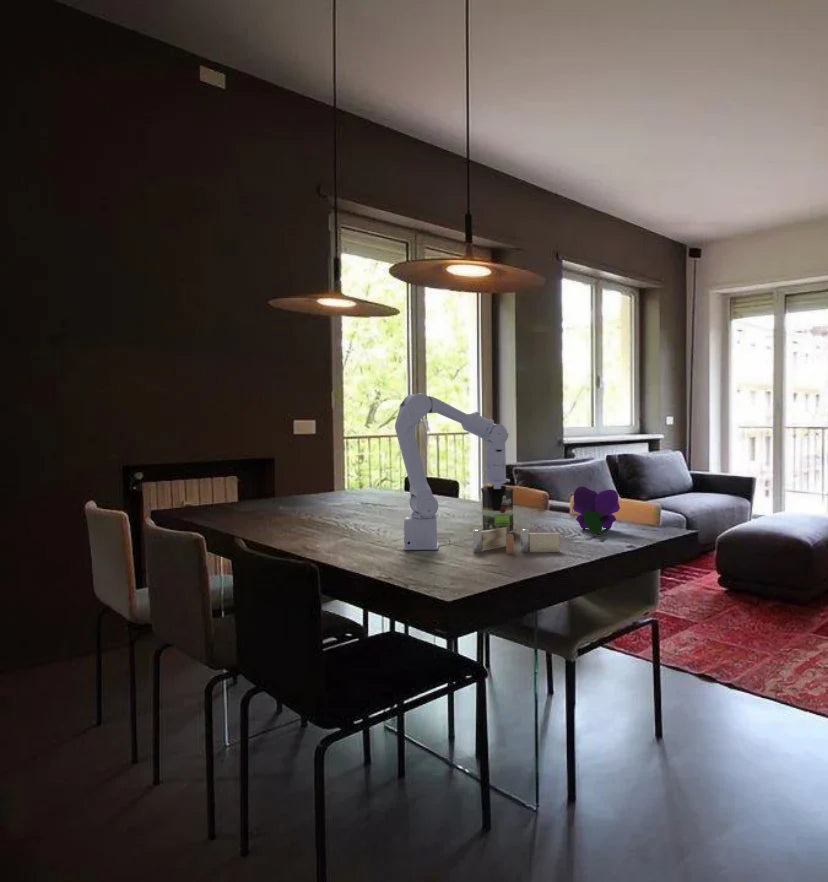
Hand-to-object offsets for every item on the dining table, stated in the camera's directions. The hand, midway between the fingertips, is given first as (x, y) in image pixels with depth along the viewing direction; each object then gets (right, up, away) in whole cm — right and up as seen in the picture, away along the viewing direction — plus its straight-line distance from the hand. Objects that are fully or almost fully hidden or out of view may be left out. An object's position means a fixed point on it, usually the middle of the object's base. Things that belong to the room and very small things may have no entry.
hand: (496, 510), depth 188 cm
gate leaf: (-2, -9, -8) cm, 13 cm away
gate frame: (+4, -10, -13) cm, 17 cm away
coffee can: (+3, -9, +17) cm, 20 cm away
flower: (+33, -9, +12) cm, 36 cm away
